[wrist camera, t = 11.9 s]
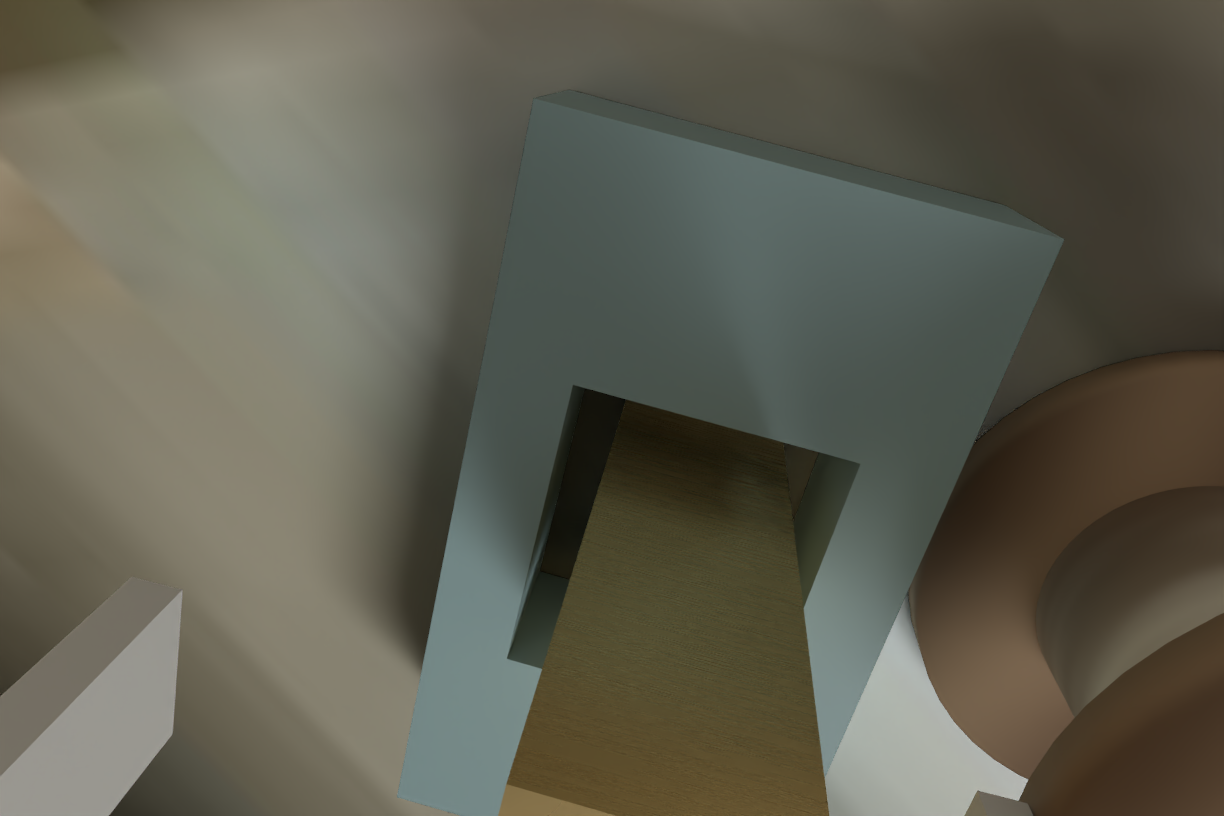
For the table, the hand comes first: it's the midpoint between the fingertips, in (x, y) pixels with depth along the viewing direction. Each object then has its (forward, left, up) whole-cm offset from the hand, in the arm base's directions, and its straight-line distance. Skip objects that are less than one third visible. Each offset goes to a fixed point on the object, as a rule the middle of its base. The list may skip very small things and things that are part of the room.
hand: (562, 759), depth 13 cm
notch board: (+1, +1, -9) cm, 9 cm away
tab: (+1, +1, -9) cm, 9 cm away
